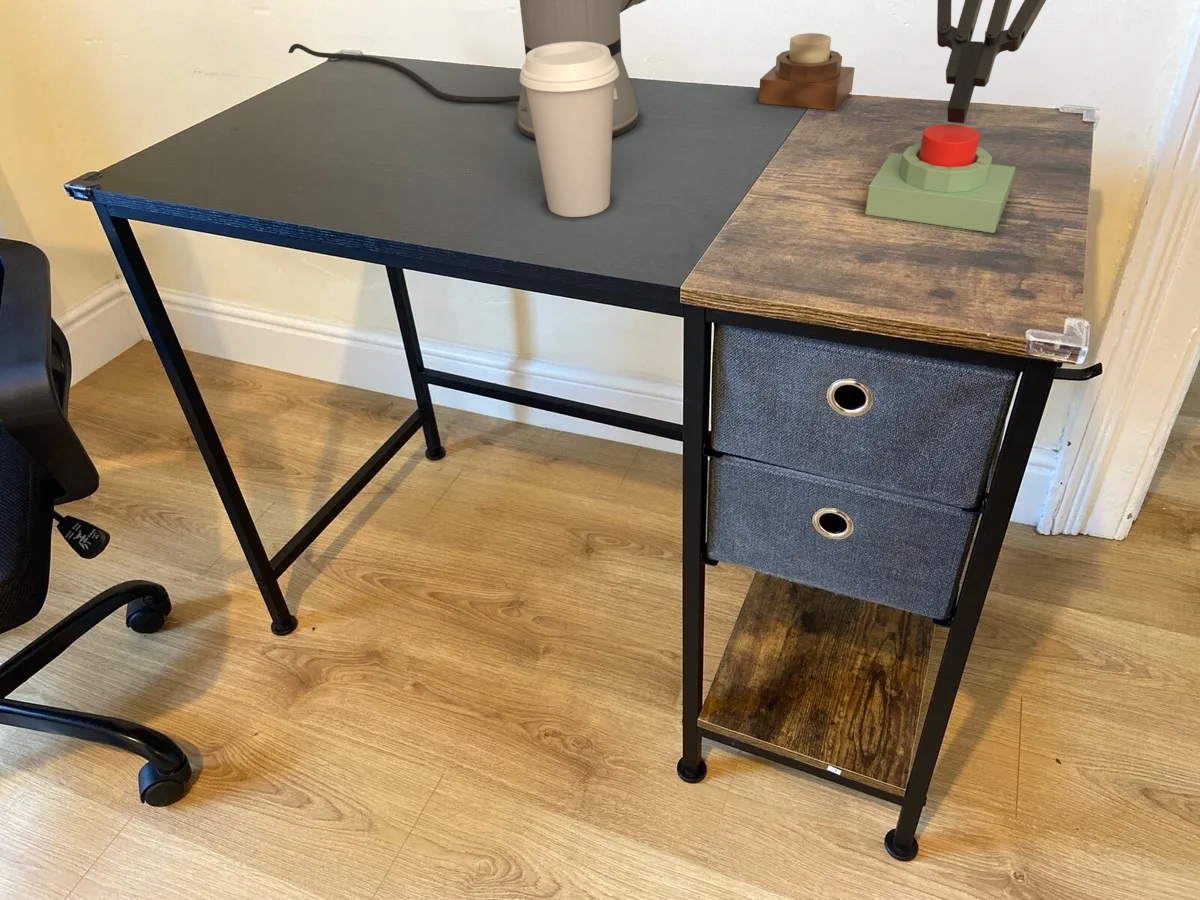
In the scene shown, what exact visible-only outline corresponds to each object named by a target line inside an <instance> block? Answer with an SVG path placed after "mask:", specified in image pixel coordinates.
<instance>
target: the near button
mask: <svg viewBox="0 0 1200 900" xmlns="http://www.w3.org/2000/svg"><path fill="white" fill-rule="evenodd" d="M979 141H980V132H979V131H978V130H976V129H975V128H972V127H970V126H966V125H962V124H956V123H955V124H953V123H944V124H943V123H942V124H934V125H931V126H929V127H927V128H925V129H924V130H923V132H922V137H921V142H922V143H921V142H920V143H921V149H920V154H919V160H920V161H923V162H925V163H928V164H931V165H934V166H942V167H961V166H967V165H970V164H973V163H974V159H975V155H976V150H977V147H978V145H979Z"/></svg>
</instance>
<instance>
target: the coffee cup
mask: <svg viewBox="0 0 1200 900" xmlns="http://www.w3.org/2000/svg"><path fill="white" fill-rule="evenodd" d="M524 59H525V61H524V63H523V65H522V66H521V70H520V74H519V82H520V84H521V86H522V85H524V86H525V87H526V92H527V97H528V102H529V107H530V112H531V117H532V123H533V128H534V133H535V138H536V139H535V144H536V148H537V155H538V160H539V164H540V170H541V176H542V181H543V186H544V191H545V192H544V193H545V197H546V202H547V207H548V210H550V212H551V213H553V214H555V215H557V216H561V217H565V218H583V217H590V216H593V215H597V214H599V213H602V212H604V211H605V210H607V208H608V207H609V206H610V205H611V204H610V203H611V178H612V151H613V150H612V148H613V137H612V125H613V100H614V80H615V79H616V78H617V77H618V76H619V70H618V66H617V64H616V62H615V60H614V59H613V58H612V57H611V54H610V50H609V48H608V47H606V46H605V45H602V44H599V43H594V42H582V41H572V42H560V43H553V44H548V45H544V46H540V47H537V48H535V49H533V50H531V51H529V52H528V53H527V55H526V54H525V58H524Z"/></svg>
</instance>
